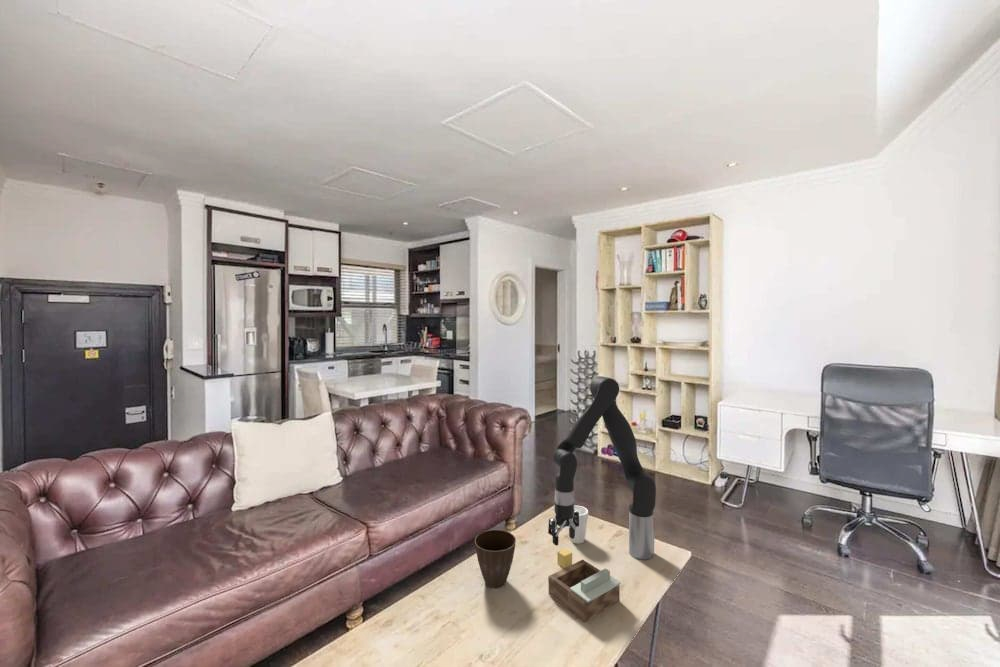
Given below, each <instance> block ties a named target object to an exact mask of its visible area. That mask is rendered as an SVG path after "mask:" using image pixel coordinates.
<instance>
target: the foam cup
mask: <svg viewBox="0 0 1000 667" xmlns="http://www.w3.org/2000/svg"><path fill="white" fill-rule="evenodd" d="M574 510H575V511H577V512H579V526H578V527H576V529H575V537H574V539H572V538H570V537H569V541H570V542H571V543H573V544H576V545H577V544H578V545H579V544H582V543H584V542H585V540H586V539H585V538H586V532H587V525H588V518H589V510H588V509H587V508H586V507H584V506H581V505H575V504H574ZM572 521H573V518H572ZM567 528H568V529H567V530H568V532H569V528H570V527H569V526H567Z"/></svg>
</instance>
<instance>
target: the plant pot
mask: <svg viewBox="0 0 1000 667" xmlns="http://www.w3.org/2000/svg"><path fill="white" fill-rule="evenodd" d="M516 542H517V539H516V537H515V536H514V535H513V533H511V532H509V531H508V530H503V529H488V530H484V531H482V532H480V533H479V534H477V535H476V536H475V538H474V545H475V553H476V556H477V561H478V562H477V563H478V566H479V571H480V572H481V575H482V578H483V580H484V584H485V585H486V586H487V587H488V588H490V589H501V588H502V587H504V586H505V585H506V582H507V581H508V580H507V579H508V577H509V574H510V571H511V569H512V568H511V567H512V564H513V560H514V555H515V550H516V549H515V548H516Z"/></svg>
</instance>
